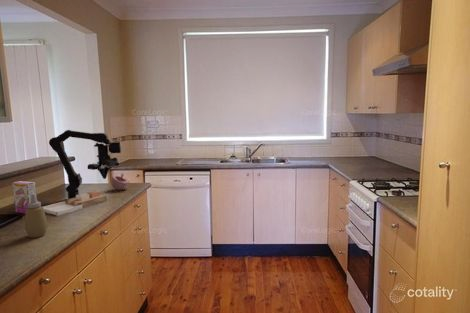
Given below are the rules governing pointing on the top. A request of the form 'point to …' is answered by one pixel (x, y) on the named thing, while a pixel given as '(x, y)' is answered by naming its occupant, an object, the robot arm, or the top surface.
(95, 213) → the top surface
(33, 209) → the squeeze bottle
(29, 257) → the top surface
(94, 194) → the tile terracotta
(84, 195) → the tile cream
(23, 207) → the candy bar box
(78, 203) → the thick wooden platform
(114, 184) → the mortar and pestle
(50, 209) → the tray
